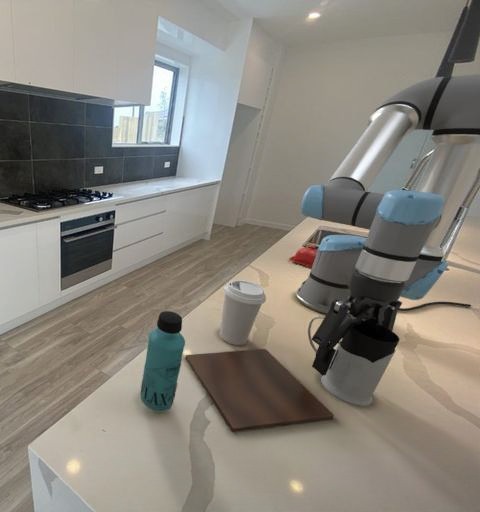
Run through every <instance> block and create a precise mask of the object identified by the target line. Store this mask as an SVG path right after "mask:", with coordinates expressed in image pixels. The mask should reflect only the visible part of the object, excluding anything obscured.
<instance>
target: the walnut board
mask: <svg viewBox="0 0 480 512" xmlns="http://www.w3.org/2000/svg"><path fill="white" fill-rule="evenodd" d="M184 359H185V361H186V362H187V364H188V365H189V367H190V369H191V370H192V372H193V373H194V375H195V376H196V378H197V379H198V381H199V382H200V384H201V386H202V387H203V388H204V390H205V392H206V393H207V395H208V396H209V398H210V400H211V402H212V403H213V404H214V406H215V408H216V409H217V411H218V413H219V414H220V416H221V417H222V419H223V420H224V422H225V424H226V425H227V426H228V428H229V430H230V431H231V432H232V433H236V432H244V431H252V430H259V429H267V428H275V427H281V426H289V425H295V424H296V425H297V424H305V423H312V422H320V421H326V420H327V421H328V420H332V419H333V418H334V416H335V415H334V414H333V412H331V411H330V410H329V408H328V407H326V405H324V403H322V402H321V401H320V400H319V399H318V398H317V396H315V395H314V394H313V393H312V392H311V391H310V390H308V388H307V387H305V385H303V384H302V382H300V380H299V379H297V377H295V376H294V375H293V374H292V373H291V372H290V371H289V370H288V369H287V368H286V367H285V366H284V365H282V363H280V361H278V360H277V359H276V357H274V356H273V355H272V354H271V353H270V352H269V350H267V349H266V348H257V349H245V350H232V351H231V350H230V351H220V352H219V351H218V352H209V353H207V352H205V353H195V354H185V358H184Z"/></svg>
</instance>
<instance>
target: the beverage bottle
mask: <svg viewBox="0 0 480 512" xmlns="http://www.w3.org/2000/svg"><path fill="white" fill-rule="evenodd" d="M182 328H183V317H182V316H181V315H180V314H178V313H177V312H174V311H171V310H170V311H169V310H166V311H161V312H160V313H159V314H158V319H157V321H156V327H155V328H153V329H152V330H151V331H150V332H149V333H148V342H147V348H146V349H147V350H146V355H145V362H144V365H143V370H142V379H141V386H140V392H139V396H140V399H141V402H142V403H143V405H144V406H145V407H146V408H147V409H150V410H151V411H154V412H166V411H168V410H169V409H170V408H171V407H172V406H173V405H174V400H175V399H176V392H177V389H178V388H177V387H178V380H179V376H180V375H179V374H180V372H181V367H182V361H183V359H182V358H183V353H184V348H185V346H186V339H185V338H184V336H183V334H182V333H181V331H182V330H183V329H182Z"/></svg>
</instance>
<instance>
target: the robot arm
mask: <svg viewBox="0 0 480 512" xmlns="http://www.w3.org/2000/svg"><path fill="white" fill-rule="evenodd" d="M366 126H367V128H366V130H365V131H364V132H363V134H362V135H361V136H360V137H359V139H358V140H357V142H356V143H355V144H354V146H353V147H352V148H351V150H350V151H349V153H347V155H346V157H345V158H344V159H343V161H342V162H341V163H340V165H339V166H338V168H337V169H336V170H335V172H334V173H333V174H332V175H331V177H330V178H329V180H328V181H327V182H326V184H325V185H324V184H314V185H312V186H310V187H308V188H307V190H306V191H305V193H304V195H303V197H302V200H301V205H300V212H301V214H302V215H303V216H305V217H306V218H307V217H308V218H310V219H314V220H318V221H324V222H330V223H334V224H340V225H344V226H350V227H354V228H359V229H364V230H368V232H367V233H368V234H367V236H366V237H364V236H359V235H351V234H330V235H327V236H324V237H323V238H322V240H321V242H320V244H319V246H318V248H317V250H318V251H317V254H316V257H315V260H314V263H313V266H312V267H311V268H310V272H309V275H308V277H307V278H306V279H305V280H304V281H302V283H300V287H299V288H297V290H296V292H295V296H294V297H295V299H296V301H297V302H298V303H299V304H301V305H302V306H304V307H306V308H307V309H309V310H312V311H315V312H317V313H321V314H323V315H325V316H324V317H325V318H324V319H322V321H321V323H320V325H319V326H318V327H317V329H316V331H315V332H314V334H313V336H311V339H312V342H313V343H315V344H317V345H318V346H317V348H316V349H317V353H316V352H315V357H314V360H313V362H312V365H311V368H313V369H314V370H315V371H317V373H319V374H320V375H321V377H322V376H323V375H326V373H327V371H328V368H329V366H330V364H331V361H332V359H333V357H334V354H335V352H336V349H335V347H336V346H338V342H339V341H341V340H342V338H343V337H344V336H345V335H346V334H347V333H348V331H349V330H350V329H351V328H352V327H353V326H354V325H358V324H360V323H361V322H362V320H365V321H367V322H368V324H369V326H370V328H371V329H372V331H373V332H374V334H375V335H376V336H377V334H378V332H379V330H380V328H381V326H384V327H386V328H388V329H389V330H391V331H393V330H394V327H395V326H394V325H395V323H396V319H397V315H398V312H410V311H415V310H418V309H419V310H420V309H422V308H425V307H428V306H429V307H430V306H434V305H452V306H458V307H459V306H460V307H468V308H471V307H472V304H471V303H470V304H469V303H462V302H454V301H431V302H426V303H422V304H420V305H417V306H411V307H406V308H405V307H403V308H402V307H401V306H402V304H403V302H402V301H400V298H404V299H408V300H411V301H420V300H422V299H424V298H425V296H426V295H427V294H428V292H430V290H431V289H432V288H433V287H434V286H435V284H436V283H437V281H438V280H439V279H440V278H441V276H442V275H443V273H444V272H445V271H446V270H447V268H448V267H449V263H448V262H446V261H444V260H443V258H445V253H444V252H443V250H442V249H441V244H442V242H443V240H444V238H445V236H446V235H447V232H448V230H449V228H450V227H451V225H452V223H453V221H454V219H455V217H456V215H457V213H458V211H459V209H460V207H461V205H462V203H463V201H464V199H465V198H466V195H467V193H468V191H469V189H470V187H471V185H472V183H473V182H474V179H475V178H476V176H477V174H478V172H479V170H480V73H475V74H465V75H454V76H453V75H452V76H436V77H433V78H429V79H425V80H422V81H419V82H416V83H414V84H411V85H410V86H407V87H405V88H403V89H402V90H400V91H398V92H396V93H394V94H393V95H391V96H390V97H389V98H387V99H386V100H384V101H383V102H382V103H381V104H380V105H379V106H377V108H376V109H375V110H374V111H373V112H372V114H371V115H370V117H369V119H368V120H367V125H366ZM418 130H423V131H432V134H431V136H430V139H431V140H432V142H433V143H434V144H435V147H434V149H433V151H432V153H431V154H430V157H429V160H428V162H427V164H426V166H425V169H424V171H423V173H422V175H421V176H420V179H419V182H418V184H417V186H416V188H415V190H409V189H407V190H405V189H392V190H388V191H387V192H385V193H380V192H379V193H378V192H372V191H369V190H370V187H371V186H372V185H373V184H374V181H375V180H376V179H377V177H378V175H379V174H380V173H381V171H382V170H383V169H384V167H385V166H386V163H387V162H388V161H389V159H390V158H391V156H392V155H393V154H394V152H395V151H396V149H397V148H398V146H399V145H400V143H401V142H402V140H403V139H404V137H407V136H408V135H411V133H412V132H414V131H418ZM393 332H394V331H393Z"/></svg>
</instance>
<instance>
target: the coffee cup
mask: <svg viewBox="0 0 480 512" xmlns="http://www.w3.org/2000/svg"><path fill="white" fill-rule="evenodd" d="M223 293H224V298H223V305H222V313H221V321H220V328H219V337H220V338H221V339H222V340H223V341H225V342H226V343H227V344H231V345H234V346H242V345H243V346H244V345H245V344H246V342H247V341H248V338H249V335H250V334H251V331H252V329H253V326H254V323H255V321H256V318H257V317H258V314H259V312H260V309H261V308H262V305H263V304H264V303H265V302H266V300H267V297H266V293H265V289H264V288H263V287H262V286H261V285H259V284H257V283H255V282H252V281H249V280H244V279H232V280H230V281H229V282H228V283H227V284H226V285H225V286H224V288H223Z"/></svg>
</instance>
